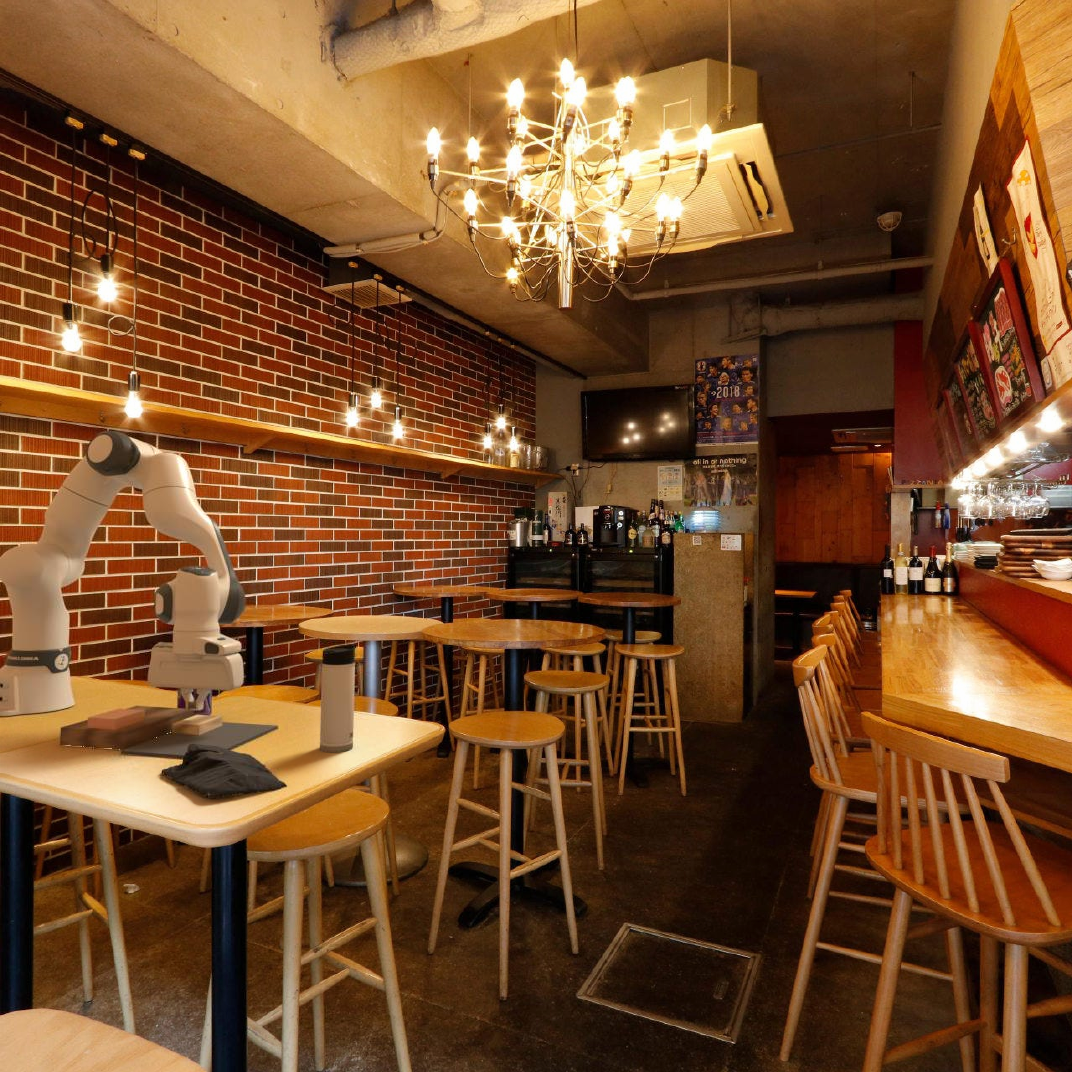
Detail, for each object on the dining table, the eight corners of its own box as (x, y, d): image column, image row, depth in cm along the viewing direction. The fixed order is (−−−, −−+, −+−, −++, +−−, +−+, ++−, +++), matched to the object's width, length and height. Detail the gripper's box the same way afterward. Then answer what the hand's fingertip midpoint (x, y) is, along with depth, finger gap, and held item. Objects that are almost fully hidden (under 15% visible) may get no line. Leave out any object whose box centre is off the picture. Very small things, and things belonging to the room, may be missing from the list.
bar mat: (120, 753, 131) (120, 750, 131) (202, 723, 155) (202, 720, 155) (207, 760, 128) (207, 757, 128) (278, 728, 152) (278, 725, 152)
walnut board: (60, 745, 136) (60, 727, 136) (135, 721, 156) (136, 705, 156) (123, 750, 133) (124, 732, 134) (192, 725, 153) (193, 709, 153)
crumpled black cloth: (192, 811, 105) (193, 779, 105) (157, 774, 121) (158, 746, 122) (294, 790, 115) (294, 761, 115) (248, 758, 131) (249, 733, 131)
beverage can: (201, 722, 156) (203, 667, 156) (170, 721, 156) (172, 667, 157) (217, 714, 163) (218, 662, 163) (186, 714, 163) (188, 662, 164)
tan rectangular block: (172, 733, 144) (172, 723, 144) (196, 724, 152) (196, 714, 152) (199, 735, 143) (199, 725, 143) (222, 725, 151) (222, 716, 151)
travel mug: (360, 748, 138) (363, 646, 138) (329, 754, 133) (332, 648, 134) (344, 741, 142) (346, 642, 143) (314, 747, 138) (316, 645, 138)
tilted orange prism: (87, 727, 136) (87, 717, 136) (118, 718, 144) (119, 708, 144) (114, 729, 135) (114, 719, 135) (144, 720, 143) (144, 710, 143)
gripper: (141, 643, 147) (139, 710, 146) (230, 647, 143) (229, 715, 143) (162, 639, 153) (160, 703, 153) (248, 643, 149) (246, 708, 149)
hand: (194, 709), depth 148 cm, fingers closed
